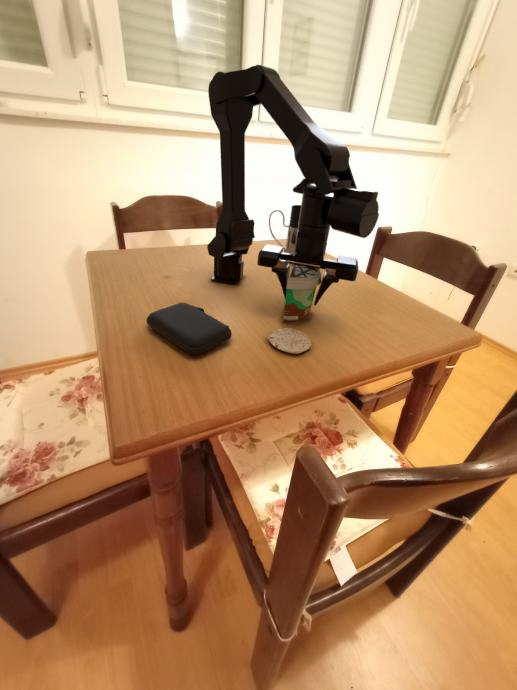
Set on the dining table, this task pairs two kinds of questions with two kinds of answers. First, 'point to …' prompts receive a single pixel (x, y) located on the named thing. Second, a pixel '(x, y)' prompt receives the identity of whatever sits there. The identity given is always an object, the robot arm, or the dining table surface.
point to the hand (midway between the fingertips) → (300, 302)
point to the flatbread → (290, 340)
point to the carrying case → (189, 328)
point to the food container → (300, 293)
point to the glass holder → (289, 227)
